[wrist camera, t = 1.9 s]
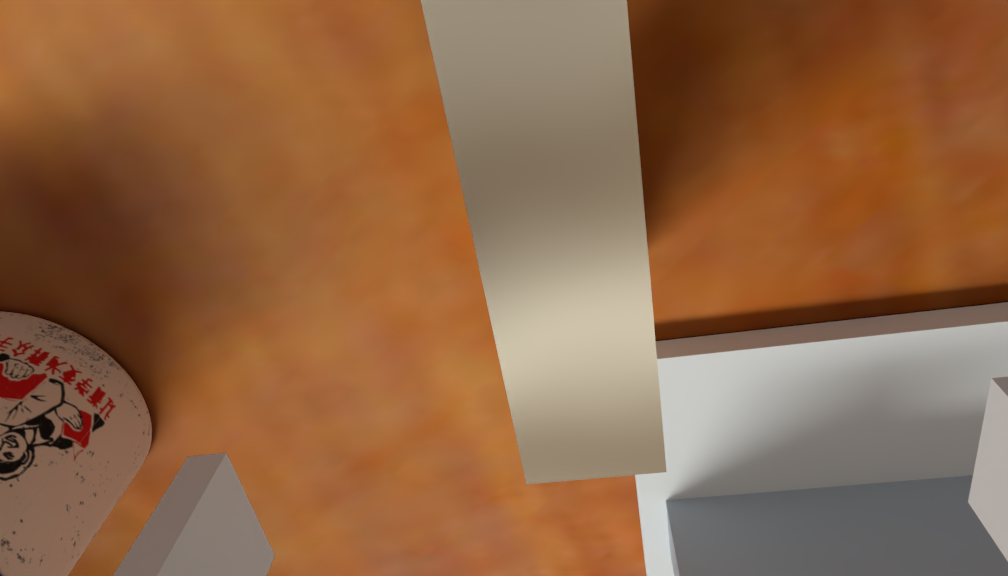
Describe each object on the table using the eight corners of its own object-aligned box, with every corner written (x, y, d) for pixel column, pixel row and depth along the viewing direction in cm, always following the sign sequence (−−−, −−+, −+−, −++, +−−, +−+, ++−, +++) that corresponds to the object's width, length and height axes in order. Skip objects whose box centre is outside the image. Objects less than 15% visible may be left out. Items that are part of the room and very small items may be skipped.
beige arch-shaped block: (441, -248, 16) (345, -344, 9) (571, -278, 16) (592, -406, 8) (533, 278, 23) (526, 484, 16) (626, 266, 23) (666, 472, 15)
